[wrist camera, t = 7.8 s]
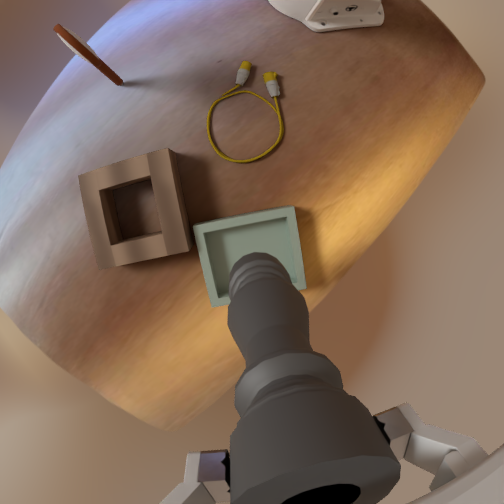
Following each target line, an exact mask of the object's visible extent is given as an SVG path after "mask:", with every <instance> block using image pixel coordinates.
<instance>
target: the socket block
mask: <svg viewBox="0 0 504 504" xmlns="http://www.w3.org/2000/svg"><path fill="white" fill-rule="evenodd" d="M78 177H79V184H80V190H81V195H82V201H83V206H84V211H85V216H86V220H87V225H88V229H89V234H90V238H91V242H92V246H93V250H94V254H95V258H96V261H97V265H98V268H99V270H102V269H106V268H111V267H116V266H120V265H125V264H130V263H134V262H139V261H144V260H149V259H153V258H158V257H163V256H168V255H173V254H177V253H182V252H187V251H189V250H190V249H191V248H192V246H193V245H194V243H193V238H192V234H191V229H190V225H189V220H188V215H187V211H186V206H185V201H184V196H183V191H182V186H181V181H180V176H179V170H178V165H177V160H176V154H175V152H173V151H172V150H170V149H169V148H165V149H162V150H158V151H154V152H151V153H147V154H143V155H140V156H137V157H133V158H130V159H127V160H123V161H120V162H117V163H114V164H111V165H108V166H105V167H102V168H99V169H96V170H93V171H90V172H87V173H85V174H82V175H79V176H78ZM149 179H151V181H152V187H153V192H154V197H155V202H156V207H157V211H158V216H159V221H160V225H161V230H162V231H159V232H155V233H150V234H146V235H142V236H137V237H133V238H129V239H125V240H123V237H122V233H121V229H120V225H119V220H118V216H117V211H116V206H115V201H114V196H113V191H112V190H114V189H117V188H121V187H124V186H127V185H131V184H134V183H138V182H142V181H145V180H149Z"/></svg>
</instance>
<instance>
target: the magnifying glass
mask: <svg viewBox="0 0 504 504" xmlns="http://www.w3.org/2000/svg"><path fill="white" fill-rule="evenodd" d="M54 30H55V32H57V34H58V36H59V37H60V38H61V40H62V41H63V42H64V43H65V44H66V45H67V46H68V47H69V48H70V49H71V50H72V51H73V52H74V53H76V54H77V55H78V56H80V57H81V58H82V59H84V60H85V61H87V62H89V63H91V64H93V65H94V66H95V67H96V68H97V69H99V70H100V71H101V72H102V73H103V74H104V75H106V76H107V77H108V78H109V79H110V80H111V81H113V82H114V83H115V84H116V85H118V86H122V85H123V80H122V79H121V78H120V77H119V76H118V75H117V74H116V73H115V72H114V71H112V70H111V69H110V68H109V67H108V66H107V65H106V64H105V63H104V62H103V61H102V60H101V59H100V58H99V57H98V56H97V55H96V53H95V52H94V51H93V50H92V48H91V47H90V46H89V45H88V44H87V43H86V42H85V41H84V40H82V39H81V38H80V37H79V36H78V35H76V34H75V33H74V32H72V31H71V30H69V29H67V28H65V27H62V26H61V25H60V24H57V25H56V26H55V27H54Z"/></svg>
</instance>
